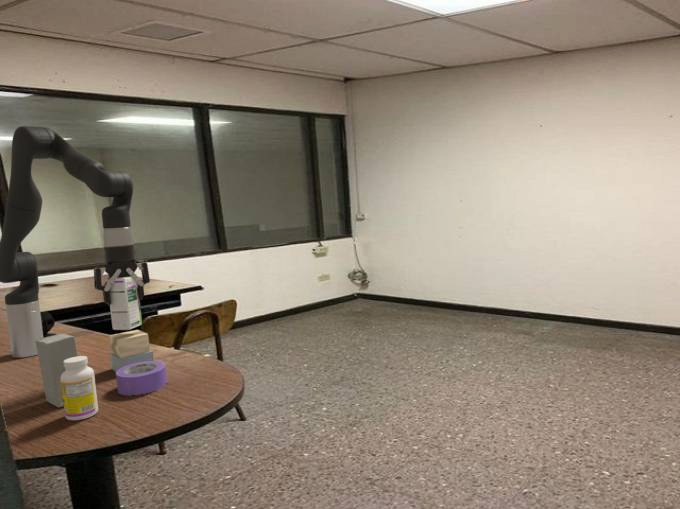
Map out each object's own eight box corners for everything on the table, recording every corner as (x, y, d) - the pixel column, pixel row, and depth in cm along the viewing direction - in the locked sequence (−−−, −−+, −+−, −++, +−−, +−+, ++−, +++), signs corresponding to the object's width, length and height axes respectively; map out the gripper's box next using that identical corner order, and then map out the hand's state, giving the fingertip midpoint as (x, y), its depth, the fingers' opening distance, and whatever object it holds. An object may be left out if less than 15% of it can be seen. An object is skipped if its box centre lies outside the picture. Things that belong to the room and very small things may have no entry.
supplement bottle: (73, 410, 117) (66, 355, 116) (103, 407, 118) (97, 353, 116) (59, 423, 110) (52, 365, 109) (91, 420, 111) (84, 362, 110)
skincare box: (86, 400, 123) (79, 335, 121) (53, 410, 118) (45, 342, 116) (73, 392, 129) (66, 330, 127) (41, 401, 124) (33, 337, 122)
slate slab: (111, 369, 147) (110, 352, 146) (143, 362, 152) (142, 345, 152) (121, 377, 140) (119, 359, 139) (154, 368, 145) (152, 351, 145)
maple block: (111, 352, 146) (109, 335, 145) (139, 346, 151) (137, 329, 151) (120, 358, 140) (118, 340, 139) (149, 351, 145) (148, 334, 145)
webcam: (45, 342, 182) (42, 314, 181) (28, 342, 184) (25, 314, 183) (62, 336, 190) (59, 309, 189) (45, 336, 192) (42, 310, 190)
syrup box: (130, 330, 141) (125, 278, 140) (111, 330, 143) (106, 278, 141) (142, 324, 147) (137, 274, 145) (124, 324, 148) (119, 275, 147)
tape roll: (147, 397, 123) (145, 377, 122) (107, 394, 126) (104, 375, 126) (176, 380, 134) (174, 361, 134) (139, 378, 138) (137, 360, 137)
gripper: (140, 241, 150) (145, 296, 151) (87, 246, 141) (93, 304, 142) (149, 242, 144) (154, 299, 146) (94, 247, 135) (101, 307, 137)
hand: (124, 301), depth 144 cm, fingers closed on syrup box, 8 cm apart
